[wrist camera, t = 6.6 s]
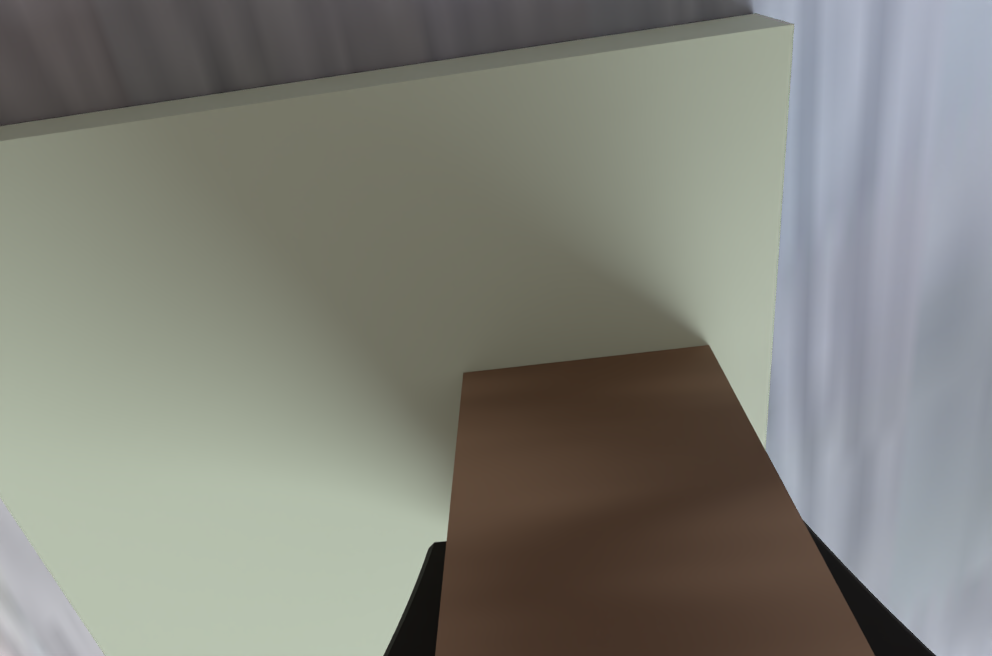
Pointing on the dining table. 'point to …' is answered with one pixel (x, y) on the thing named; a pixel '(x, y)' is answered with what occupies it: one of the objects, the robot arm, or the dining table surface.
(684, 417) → the block
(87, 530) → the board
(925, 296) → the dining table surface
